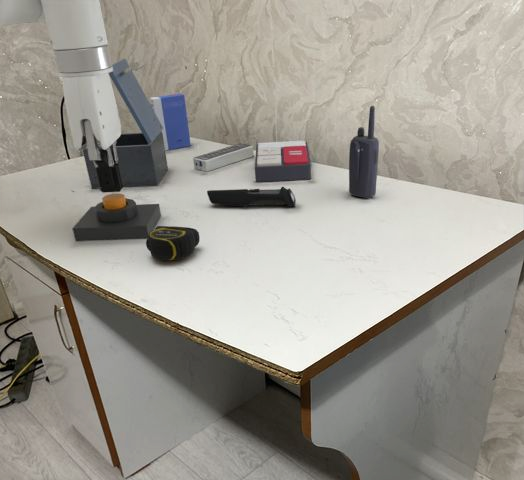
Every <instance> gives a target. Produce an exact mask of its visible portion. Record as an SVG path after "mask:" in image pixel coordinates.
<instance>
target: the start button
mask: <svg viewBox="0 0 524 480" xmlns="http://www.w3.org/2000/svg"><path fill="white" fill-rule="evenodd" d="M125 198H126V196H125V194H124V193H120V192H114V193H110V194H106V195H104V196H103V197H102V198H101V200H102V202H103V205H104V209H107V210H113V209H119V208H123V207H125V206H127V205H126V200H125Z"/></svg>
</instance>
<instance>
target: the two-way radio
mask: <svg viewBox="0 0 524 480" xmlns="http://www.w3.org/2000/svg"><path fill="white" fill-rule="evenodd" d="M375 109H376V107H375V105H371V106H370V107H369V114H368V126H367V127H368V128H367V135H365V134H366V133H365V127H363V126H361V127H360V126H359V127H358V129H357V133H356V134H357V135H356V136H354V137H352V139H351V140H350V143H349V152H348V153H349V154H348V158H349V159H348V192H349V194H350V195H353V196H355V197H359V198H365V199H369V198H373V197H375V196H376V191H377V190H376V189H377V180H378V166H379V165H378V164H379V151H380V142H379V141H380V140H379V139H378V138H377V137H375V118H376V117H375V115H376V113H375V112H376V110H375Z"/></svg>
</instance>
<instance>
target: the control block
mask: <svg viewBox="0 0 524 480" xmlns="http://www.w3.org/2000/svg"><path fill="white" fill-rule="evenodd" d="M125 200H126V205H127V206H125V207H123V208H119V209H113V210H107V209H104V205H103V201H101V202H99V203H97V204H96V205H95V206H90V207H89V209H88V210H87V211H86V212H85V213H84V215H83V216H82V217H81V218H79V220H78V221H77V223H76V224H75V225H74V226H73V227H72V233H73V236H74V240H75V242H90V241H91V242H96V241H117V240H118V241H119V240H120V241H122V240H123V241H124V240H147V238H148V235H149V233H150V232H151V231H153V230H155V228H156V227H157V225H158V223H159V221H160V219H161V217H162V212H161V207H160V203H145V204H144V203H143V204H137V202H136V201H135V200H134V199H132V198H127V197H125Z"/></svg>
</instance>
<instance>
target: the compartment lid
mask: <svg viewBox="0 0 524 480" xmlns="http://www.w3.org/2000/svg"><path fill="white" fill-rule="evenodd" d="M145 66H146V60H145V58H143V57H138V58H137V59H135V60H133V61H131V62H130V65H129V62H128V61H127V59H126V58H122V59H121V60H119V61H117V62H115V63H112V67H113V71H112V72H109V76H110V80H111V82H112V84H114V86H115V88H116V89H117V91H118V93H119V95H120V97H121V98H122V100H123V102H124V103H125V105H126V107H127V109H128V110H129V112H130V114H131V115H132V118H133V119H134V121H135V123H136V124H137V127H138V128H139V130H140V132H141V133H143V135H144V137H145V138H146V140H147V142H148V144H149V143H151V142H152V141H153V140H154V139H155V138H156V137H157V135H158V134H159V133H160V132H161V131H162V129H163V127H162V125H161V123H160V121H159V119H158V117H157V116H156V114H155V112H154V110H153V108H152V106H151V102H150V101H149V99H148V97H147V95H146V94H145V92H144V90H143V88H142V87H141V84H140V82H139V81H138V79H137V78H136V75H135V73H134V71H135V72H137V71H139V70H141V69H143V68H144V67H145Z"/></svg>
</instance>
